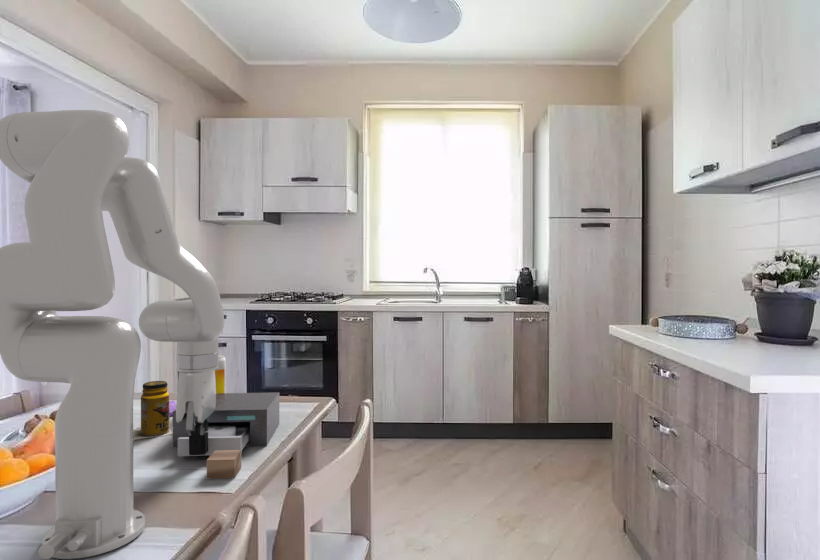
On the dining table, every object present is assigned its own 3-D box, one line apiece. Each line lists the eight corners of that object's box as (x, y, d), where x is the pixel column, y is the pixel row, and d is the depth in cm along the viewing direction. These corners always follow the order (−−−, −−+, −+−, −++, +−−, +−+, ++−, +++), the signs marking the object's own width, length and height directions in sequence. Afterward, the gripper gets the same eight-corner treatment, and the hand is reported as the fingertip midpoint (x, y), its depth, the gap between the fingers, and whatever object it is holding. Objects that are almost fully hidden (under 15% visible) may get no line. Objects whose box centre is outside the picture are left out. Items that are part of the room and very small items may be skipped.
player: (266, 445, 111) (266, 409, 111) (172, 448, 109) (172, 411, 109) (279, 424, 127) (279, 392, 127) (197, 425, 125) (197, 393, 125)
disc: (231, 442, 106) (231, 433, 106) (196, 443, 106) (196, 434, 106) (239, 432, 113) (239, 423, 113) (207, 433, 113) (207, 424, 113)
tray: (240, 454, 103) (240, 437, 103) (177, 456, 102) (177, 438, 102) (257, 430, 119) (257, 415, 119) (203, 431, 118) (203, 416, 118)
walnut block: (234, 478, 93) (234, 459, 93) (206, 479, 93) (206, 460, 93) (241, 467, 98) (241, 449, 98) (214, 468, 98) (214, 450, 98)
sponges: (175, 406, 145) (175, 400, 145) (178, 417, 134) (178, 410, 134) (147, 409, 142) (147, 403, 142) (149, 421, 131) (149, 414, 131)
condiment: (173, 434, 119) (172, 383, 119) (132, 441, 114) (131, 388, 114) (168, 426, 125) (168, 378, 125) (129, 432, 120) (129, 382, 120)
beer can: (201, 409, 141) (201, 355, 140) (225, 406, 143) (224, 354, 143) (202, 414, 135) (202, 358, 135) (227, 412, 138) (226, 357, 137)
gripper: (191, 355, 107) (192, 441, 107) (163, 369, 92) (164, 468, 93) (228, 355, 108) (228, 440, 108) (205, 368, 93) (206, 467, 93)
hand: (198, 453), depth 100 cm, fingers closed
